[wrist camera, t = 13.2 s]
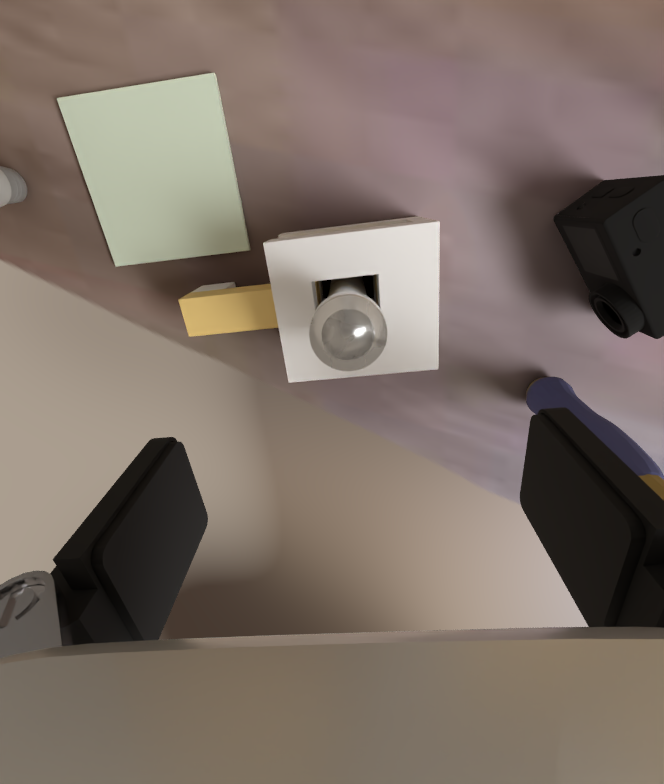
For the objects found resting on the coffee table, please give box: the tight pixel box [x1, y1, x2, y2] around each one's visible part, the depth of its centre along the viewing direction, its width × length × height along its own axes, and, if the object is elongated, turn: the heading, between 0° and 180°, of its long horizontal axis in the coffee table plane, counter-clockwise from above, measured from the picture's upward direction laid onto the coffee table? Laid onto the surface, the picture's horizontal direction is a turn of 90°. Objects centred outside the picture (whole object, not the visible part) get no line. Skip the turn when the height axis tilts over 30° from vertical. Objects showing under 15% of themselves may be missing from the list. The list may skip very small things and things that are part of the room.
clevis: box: [178, 216, 440, 383], centre depth 31 cm, size 10×19×8 cm, turn 97°
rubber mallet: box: [526, 377, 664, 500], centre depth 24 cm, size 12×8×30 cm, turn 54°
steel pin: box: [309, 276, 387, 371], centre depth 28 cm, size 4×4×14 cm
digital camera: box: [554, 175, 664, 339], centre depth 29 cm, size 10×5×7 cm, turn 39°
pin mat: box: [57, 73, 251, 266], centre depth 31 cm, size 12×12×1 cm
